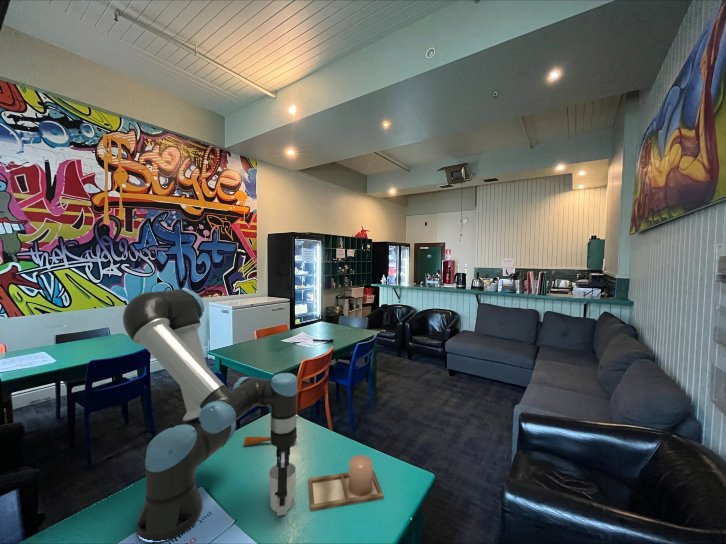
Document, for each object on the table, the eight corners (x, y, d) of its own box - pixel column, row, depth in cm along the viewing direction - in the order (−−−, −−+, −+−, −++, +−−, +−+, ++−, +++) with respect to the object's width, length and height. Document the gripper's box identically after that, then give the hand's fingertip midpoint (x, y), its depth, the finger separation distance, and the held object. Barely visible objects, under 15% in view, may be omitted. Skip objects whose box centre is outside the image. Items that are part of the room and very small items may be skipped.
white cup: (279, 519, 82) (280, 484, 82) (262, 505, 87) (263, 472, 87) (301, 501, 89) (301, 469, 88) (284, 489, 93) (285, 458, 93)
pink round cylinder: (351, 498, 89) (351, 472, 89) (346, 480, 96) (347, 456, 96) (374, 494, 91) (375, 468, 91) (368, 477, 98) (369, 453, 98)
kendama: (247, 430, 119) (297, 425, 121) (247, 446, 118) (298, 440, 120) (242, 436, 113) (295, 430, 115) (243, 452, 112) (295, 447, 114)
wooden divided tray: (310, 515, 84) (310, 507, 84) (308, 484, 96) (308, 478, 96) (383, 502, 89) (383, 495, 89) (373, 475, 101) (373, 468, 101)
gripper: (297, 446, 78) (295, 530, 79) (296, 409, 98) (294, 477, 99) (267, 450, 77) (266, 535, 77) (272, 411, 96) (271, 480, 97)
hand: (282, 502), depth 88 cm, fingers closed on white cup, 7 cm apart
